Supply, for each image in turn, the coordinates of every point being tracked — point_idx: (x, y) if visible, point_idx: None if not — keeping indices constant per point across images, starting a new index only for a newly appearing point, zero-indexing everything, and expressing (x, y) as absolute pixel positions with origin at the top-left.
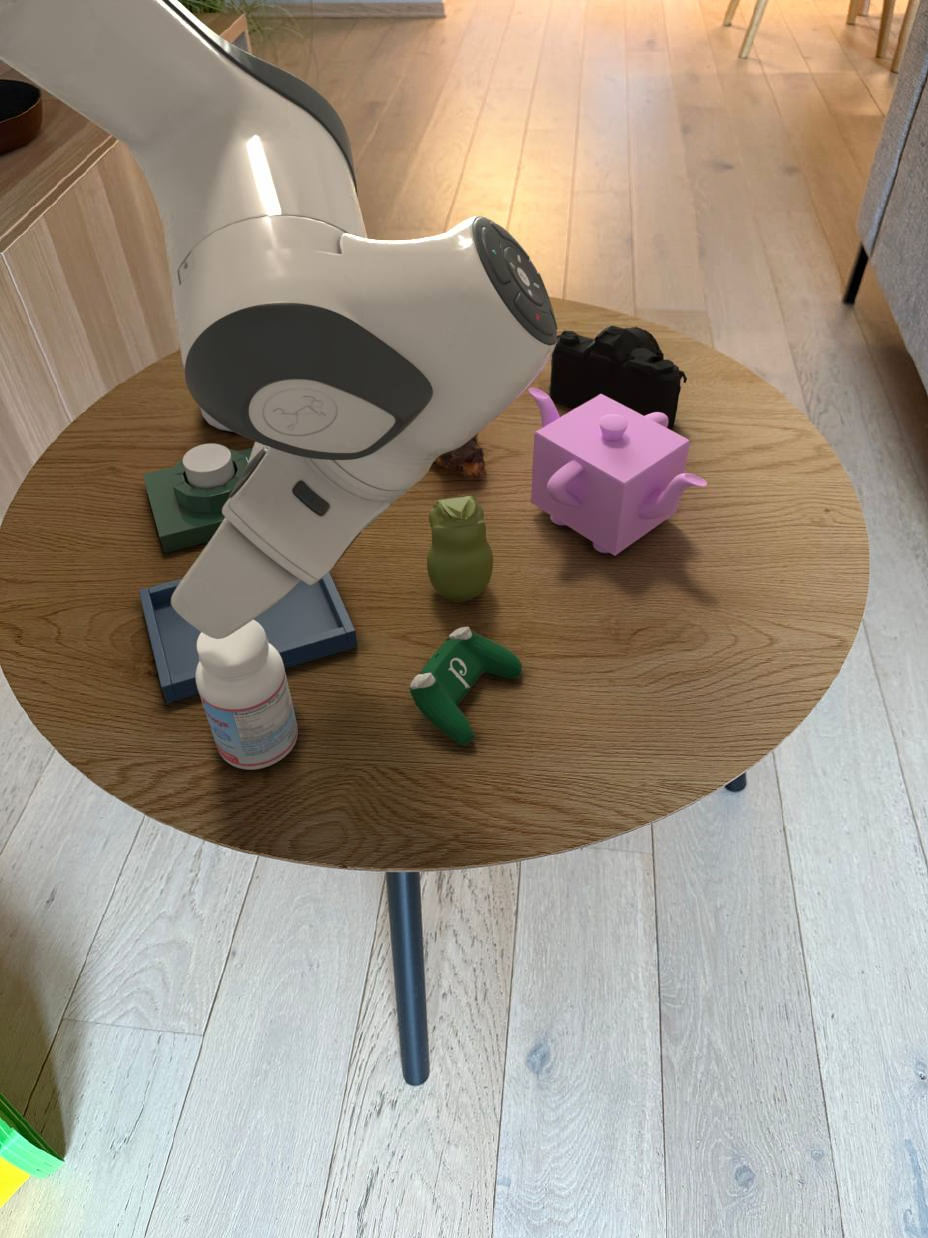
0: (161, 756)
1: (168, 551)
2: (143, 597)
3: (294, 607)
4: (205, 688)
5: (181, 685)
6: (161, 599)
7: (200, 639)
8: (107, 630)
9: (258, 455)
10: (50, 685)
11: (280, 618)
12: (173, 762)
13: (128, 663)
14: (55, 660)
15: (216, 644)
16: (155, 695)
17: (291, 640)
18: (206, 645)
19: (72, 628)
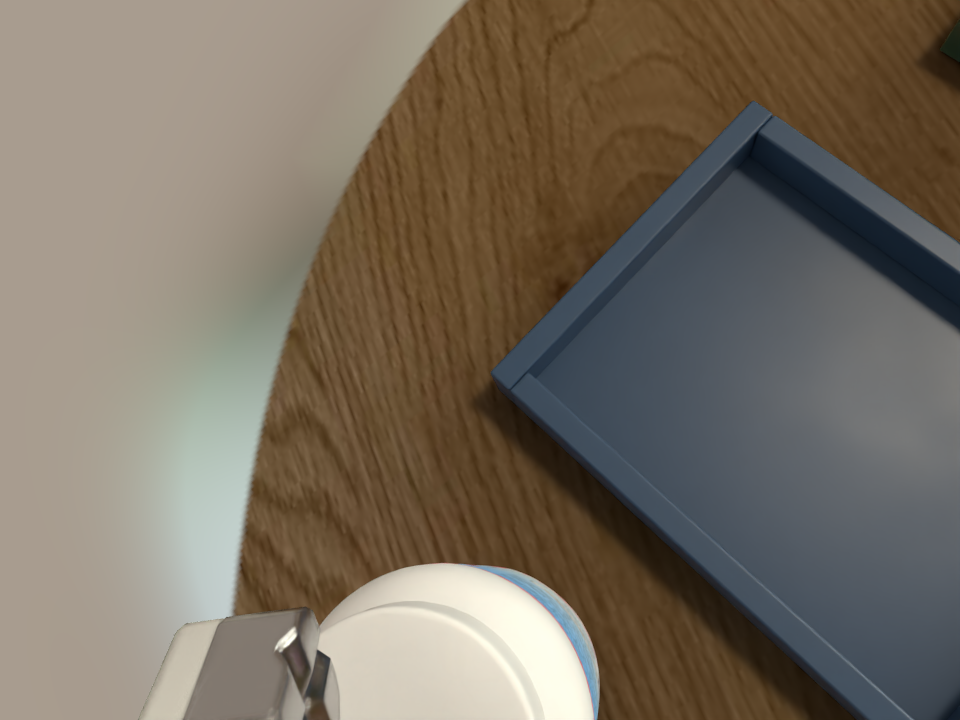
0: (362, 472)
1: (948, 54)
2: (735, 128)
3: (956, 513)
4: None
5: (526, 408)
6: (771, 163)
7: (348, 632)
8: (631, 112)
9: None
10: (437, 119)
11: (892, 499)
12: (357, 510)
13: (565, 224)
14: (501, 78)
15: (348, 715)
16: (508, 345)
17: (833, 578)
18: None
19: (598, 41)
